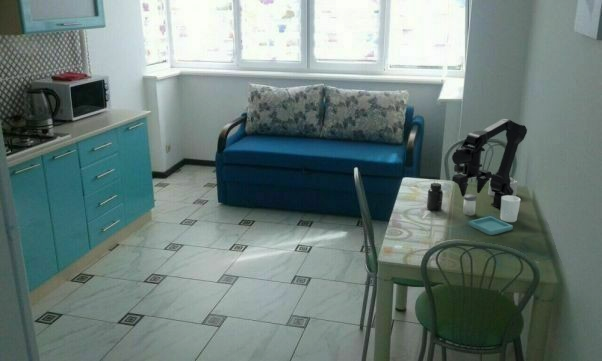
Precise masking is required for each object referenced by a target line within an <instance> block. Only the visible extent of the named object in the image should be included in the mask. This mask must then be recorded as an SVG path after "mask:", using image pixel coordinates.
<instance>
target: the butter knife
mask: <svg viewBox="0 0 602 361" xmlns="http://www.w3.org/2000/svg"><path fill="white" fill-rule="evenodd" d="M430 213H431V210H424V212H423V214H422V215H423V216H422V217H421V220H425V219H426V217H427V216H428V215H429V214H430Z"/></svg>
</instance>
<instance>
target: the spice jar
mask: <svg viewBox="0 0 602 361" xmlns="http://www.w3.org/2000/svg"><path fill="white" fill-rule="evenodd" d="M476 205H477V196H476V195H475V194H465V196H464V197H463V206H462V214H463V215H465V216H474V215H475V214H476Z"/></svg>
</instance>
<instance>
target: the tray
mask: <svg viewBox="0 0 602 361" xmlns="http://www.w3.org/2000/svg"><path fill="white" fill-rule="evenodd" d="M468 226H470V227H471V228H474V229H476V230H478V231H480V232H482V233H484V234H487V235H489V236H494V235H498V234H502V233H505V232H509V231H512V230H513V229H514V228H513V227H514V226H513V225H512V224H509V222H506V221H503V220H501V219H498V218H496V217H493V216H491V215H490V216H486V217H485V216H484V217H481V218H477V219H472V220H469V221H468Z"/></svg>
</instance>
